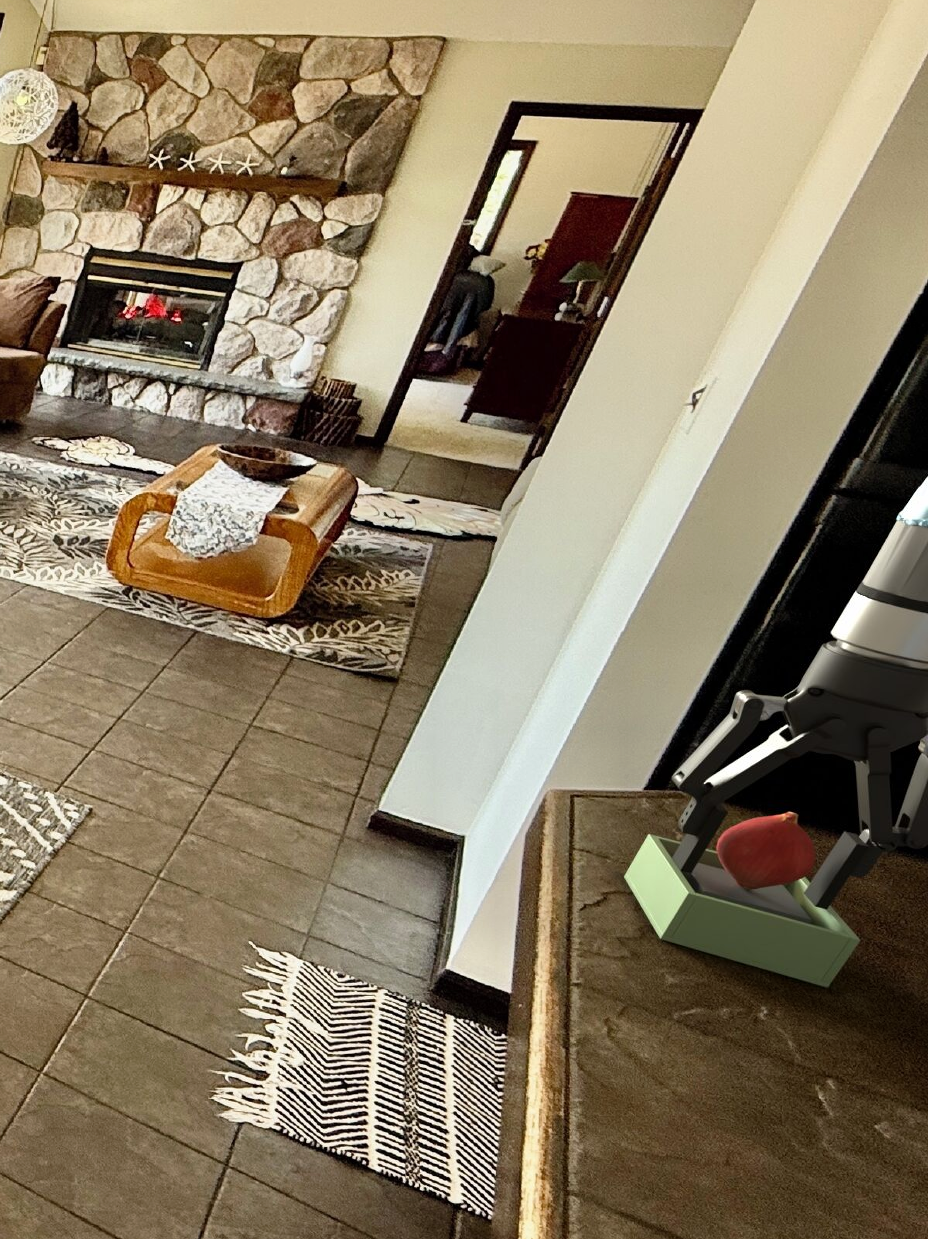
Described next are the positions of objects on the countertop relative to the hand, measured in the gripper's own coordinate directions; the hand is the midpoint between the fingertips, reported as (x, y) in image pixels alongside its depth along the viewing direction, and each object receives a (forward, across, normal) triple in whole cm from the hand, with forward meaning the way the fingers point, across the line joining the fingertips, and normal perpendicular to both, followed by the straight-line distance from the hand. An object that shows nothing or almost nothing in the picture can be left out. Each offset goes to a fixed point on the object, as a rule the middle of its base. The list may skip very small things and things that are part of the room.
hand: (746, 882), depth 105 cm
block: (+5, 0, 0) cm, 5 cm away
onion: (+1, 0, 0) cm, 1 cm away
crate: (+5, 0, 0) cm, 5 cm away
